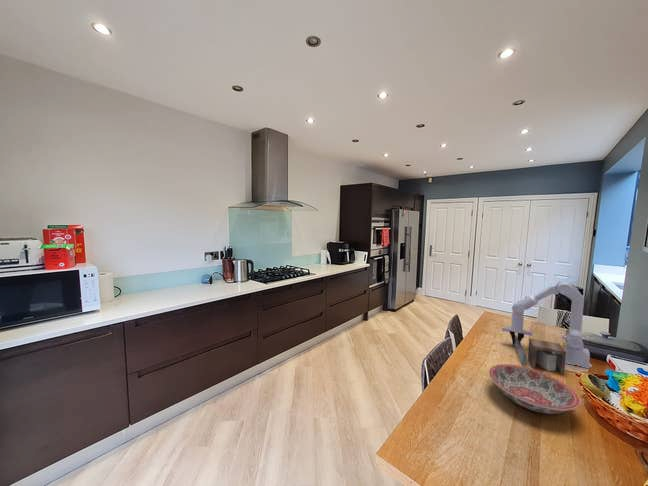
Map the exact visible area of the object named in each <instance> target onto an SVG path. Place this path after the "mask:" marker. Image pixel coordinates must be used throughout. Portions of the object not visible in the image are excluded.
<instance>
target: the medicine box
mask: <svg viewBox="0 0 648 486" xmlns="http://www.w3.org/2000/svg"><path fill="white" fill-rule="evenodd" d="M556 357H557V355H556V354H555V353H553V352H548V351H543V350H538V349H537V352H536V365H538V366H540V367H541V368H543V369H544V370H546V372H547V371H549V372H555V371H556V370H557V368H556Z"/></svg>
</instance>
